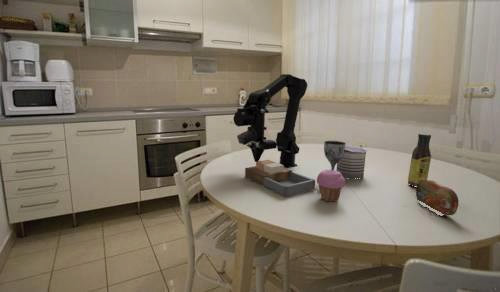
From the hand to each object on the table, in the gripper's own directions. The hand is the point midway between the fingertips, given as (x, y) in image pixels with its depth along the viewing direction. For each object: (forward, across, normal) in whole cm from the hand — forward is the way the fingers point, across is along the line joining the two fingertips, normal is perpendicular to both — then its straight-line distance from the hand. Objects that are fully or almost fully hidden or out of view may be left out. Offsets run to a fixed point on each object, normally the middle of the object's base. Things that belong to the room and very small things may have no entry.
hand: (256, 162), depth 121 cm
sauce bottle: (+5, +44, +43) cm, 62 cm away
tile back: (+1, +6, 0) cm, 6 cm away
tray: (+5, +20, 0) cm, 21 cm away
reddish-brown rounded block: (+5, +58, +26) cm, 63 cm away
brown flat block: (+5, +8, 0) cm, 10 cm away
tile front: (+1, +11, 0) cm, 11 cm away
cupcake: (+5, +35, +4) cm, 36 cm away
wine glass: (+5, +22, +21) cm, 31 cm away
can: (+5, +22, +32) cm, 39 cm away
